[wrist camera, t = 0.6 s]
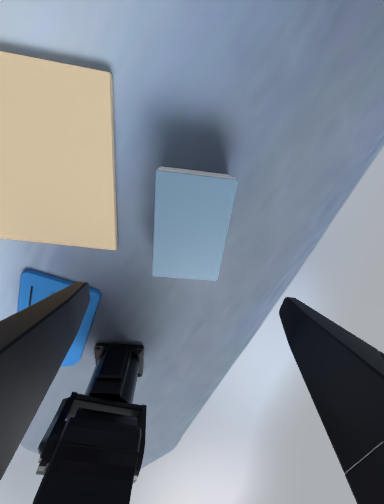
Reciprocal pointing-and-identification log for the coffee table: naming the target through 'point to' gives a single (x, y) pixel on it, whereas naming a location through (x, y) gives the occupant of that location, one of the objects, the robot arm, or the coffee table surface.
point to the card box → (191, 222)
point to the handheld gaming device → (43, 285)
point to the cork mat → (56, 153)
